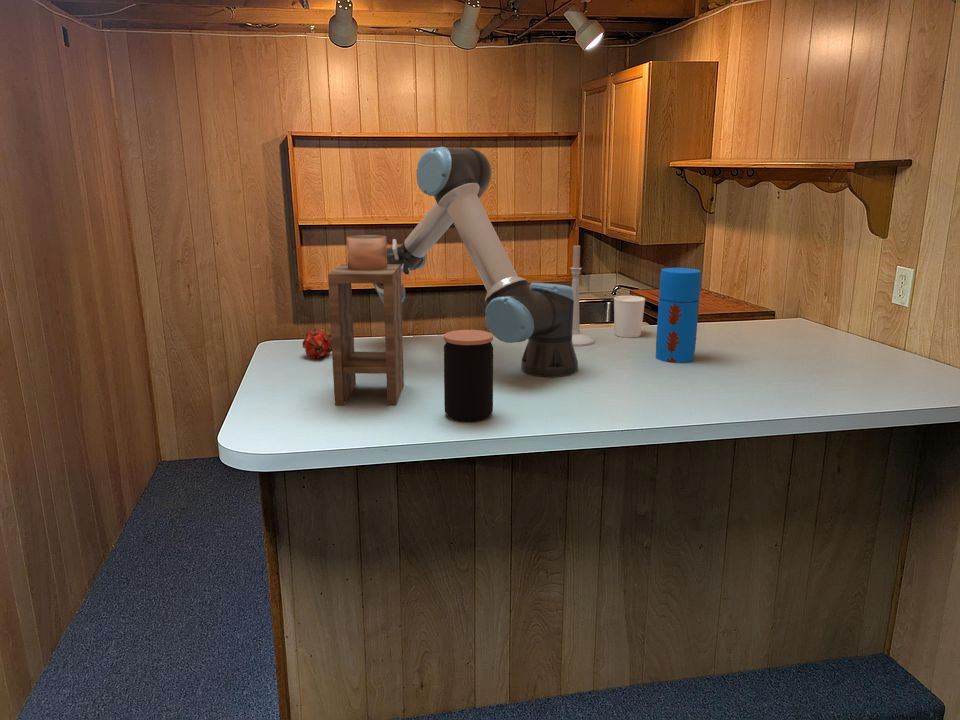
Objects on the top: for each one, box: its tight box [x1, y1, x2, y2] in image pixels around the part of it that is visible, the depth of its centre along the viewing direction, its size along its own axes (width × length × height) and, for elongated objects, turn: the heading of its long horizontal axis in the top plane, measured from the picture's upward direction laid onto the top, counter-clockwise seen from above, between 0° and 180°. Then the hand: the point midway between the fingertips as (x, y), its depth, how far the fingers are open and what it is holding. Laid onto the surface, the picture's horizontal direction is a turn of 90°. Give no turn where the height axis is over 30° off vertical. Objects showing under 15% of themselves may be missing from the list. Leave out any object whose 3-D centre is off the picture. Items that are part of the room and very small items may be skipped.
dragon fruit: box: [302, 328, 332, 360], centre depth 206 cm, size 8×8×12 cm
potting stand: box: [327, 263, 405, 406], centre depth 169 cm, size 16×14×30 cm
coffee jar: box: [443, 329, 494, 423], centre depth 156 cm, size 11×11×18 cm
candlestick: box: [569, 245, 595, 347], centre depth 221 cm, size 13×13×30 cm
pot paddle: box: [346, 234, 388, 270], centre depth 175 cm, size 26×9×7 cm, turn 179°
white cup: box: [613, 295, 646, 339], centre depth 232 cm, size 10×10×12 cm
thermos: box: [655, 267, 702, 364], centre depth 202 cm, size 11×11×25 cm
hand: (374, 244), depth 178 cm, fingers open, 9 cm apart
